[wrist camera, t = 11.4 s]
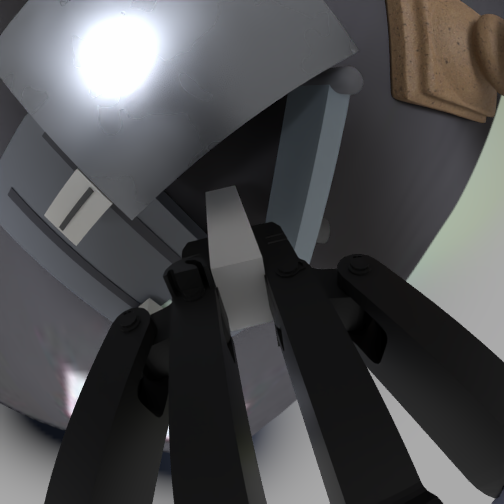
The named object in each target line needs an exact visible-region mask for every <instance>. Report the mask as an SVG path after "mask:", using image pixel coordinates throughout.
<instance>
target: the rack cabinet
mask: <svg viewBox="0 0 504 504" xmlns="http://www.w3.org/2000/svg"><path fill="white" fill-rule="evenodd" d="M357 52H359V50H358V49H357V47H356V45H355V44H354V42H353V41H352V39H351V38H350V36H349V35H348V33H347V32H346V30H345V29H344V27H343V26H342V25H341V23H340V22H339V20H338V19H337V18H336V16H335V15H334V14H333V12H332V11H331V10H330V8H329V7H328V6H327V5H326V3H325V2H324V1H323V0H29V1H28V2H27V3H26V4H25V5H24V6H23V7H22V9H21V10H20V11H19V12H18V13H17V15H16V16H15V17H14V18H13V19H12V21H11V22H10V23H9V25H8V26H7V27H6V28H5V30H4V31H3V33H2V34H1V35H0V78H1V79H2V81H3V82H4V83H5V84H6V86H7V87H8V88H9V90H10V91H11V92H12V93H13V95H14V96H15V97H16V98H17V99H18V101H19V102H20V103H21V104H22V105H23V107H24V108H25V109H26V110H27V111H28V113H29V114H30V115H31V116H32V117H33V118H34V120H35V121H36V122H37V123H38V124H39V125H40V126H41V128H42V129H43V130H44V131H45V132H46V133H47V134H48V135H49V137H50V138H51V139H52V140H53V141H54V142H55V143H56V144H57V145H58V146H59V148H60V149H61V150H62V151H63V152H64V153H65V154H66V155H67V156H68V157H69V158H70V159H71V160H72V161H73V162H74V164H75V165H76V166H77V167H78V168H79V169H80V170H81V171H82V172H83V173H84V174H85V175H86V176H87V177H88V178H89V179H90V180H91V181H92V182H93V183H94V184H95V185H96V186H97V187H98V188H99V189H100V190H101V191H102V192H103V193H104V194H105V195H106V196H107V197H108V198H109V199H110V200H111V201H112V202H113V203H114V204H115V205H116V206H117V207H118V208H119V209H120V210H121V211H122V212H124V213H125V214H126V215H127V216H128V217H129V218H130V219H131V220H133V219H134V218H135V217H136V216H137V215H138V214H139V213H140V212H141V211H142V210H143V209H144V208H145V207H146V206H147V205H148V204H149V203H150V202H152V201H153V200H154V199H155V198H156V197H157V196H158V195H159V194H160V193H161V192H162V191H163V190H164V189H166V188H167V187H168V186H169V185H170V184H171V183H172V182H173V181H174V180H176V179H177V178H178V177H179V176H180V175H181V174H182V173H183V172H185V171H186V170H187V169H188V168H189V167H190V166H192V165H193V164H194V163H195V162H196V161H198V160H199V159H200V158H201V157H202V156H204V155H205V154H206V153H207V152H208V151H210V150H211V149H212V148H213V147H215V146H216V145H217V144H218V143H220V142H221V141H222V140H224V139H225V138H226V137H227V136H229V135H230V134H231V133H233V132H234V131H235V130H237V129H238V128H239V127H241V126H242V125H243V124H245V123H246V122H247V121H249V120H250V119H251V118H253V117H254V116H256V115H257V114H258V113H260V112H261V111H263V110H264V109H266V108H267V107H268V106H270V105H271V104H273V103H274V102H276V101H277V100H279V99H280V98H282V97H283V96H285V95H286V94H288V93H289V92H291V91H292V90H294V89H295V88H297V87H299V86H300V85H302V84H303V83H305V82H307V81H308V80H310V79H311V78H313V77H315V76H316V75H318V74H320V73H321V72H323V71H325V70H327V69H328V68H330V67H332V66H334V65H335V64H337V63H339V62H341V61H342V60H344V59H346V58H348V57H350V56H352V55H354V54H356V53H357Z"/></svg>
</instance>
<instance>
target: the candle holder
mask: <svg viewBox="0 0 504 504" xmlns="http://www.w3.org/2000/svg"><path fill="white" fill-rule="evenodd" d="M385 3H386V11H387V21H388V32H389V48H390V78H391V94H392V97H393V98H395V99H396V100H400V101H404V102H407V103H411V104H416V105H420V106H424V107H428V108H432V109H436V110H439V111H443V112H446V113H450V114H453V115H456V116H459V117H462V118H466V119H470V120H473V121H477V122H480V123H485V122H486V117H487V116H488V117H494V116H495V112H496V101H497V92H498V93H499V94H501V95H503V96H504V19H502V18H500V17H498V16H496V15H492V14H485V15H482V16H480V15H479V14H478V13H476V12H475V11H474V10H472V9H471V8H470V7H468V6H467V5H465V4H464V3H463V2H461V1H460V0H385Z"/></svg>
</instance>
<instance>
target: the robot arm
mask: <svg viewBox="0 0 504 504" xmlns="http://www.w3.org/2000/svg"><path fill="white" fill-rule="evenodd" d="M205 195H206V213H207V228H208V238H204V239H200V240H195V241H191V242H188V243H187V244H186V245H185V247H184V248H183V250H182V259H181V260H179V261H176V262H175V263H173V264H171V265H170V266H169V267H168V268H167V269H166V270H165V272H164V274H163V279H164V281H165V283H166V285H167V288H168V290H169V292H170V294H171V296H172V303H171V304H170V305H168V306H167V307H165V308H163V309H161V310H159V311H157V312H155V313H153V314H151V315H150V314H149V312H148V311H147V310H146V309H144V308H139V307H136V308H131V309H128V310H126V311H124V312H123V313H121V314H120V315H119V316H118V317H117V318H116V319H115V321H114V322H113V324H112V326H111V328H110V330H109V332H108V334H107V336H106V338H105V340H104V342H103V344H102V346H101V348H100V350H99V352H98V354H97V356H96V359H95V361H94V363H93V365H92V367H91V370H90V372H89V374H88V376H87V379H86V381H85V383H84V386H83V388H82V390H81V393H80V395H79V398H78V400H77V402H76V405H75V408H74V410H73V413H72V415H71V418H70V421H69V423H68V426H67V429H66V431H65V435H64V437H63V440H62V443H61V446H60V449H59V452H58V456H57V458H56V462H55V465H54V468H53V472H52V476H51V479H50V483H49V486H48V490H47V494H46V499H45V503H44V504H152V502H153V497H154V491H155V486H156V481H157V476H158V471H159V467H160V462H161V457H162V452H163V448H164V443H165V439H166V434H167V430H168V426H169V441H170V459H171V474H172V486H173V496H174V504H267V503H266V498H265V494H264V490H263V486H262V481H261V477H260V473H259V468H258V464H257V460H256V455H255V450H254V446H253V441H252V436H251V431H250V426H249V421H248V416H247V411H246V406H245V401H244V396H243V391H242V385H241V380H240V375H239V369H238V364H237V358H236V353H235V347H234V342H233V339H232V337H231V334H230V330H231V331H235V330H239V329H244V328H248V327H252V326H256V325H260V324H264V323H268V322H272V321H273V320H274V323H275V329H276V335H277V341H278V346H280V347H281V350H282V353H283V356H284V359H285V362H286V366H287V369H288V372H289V375H290V378H291V381H292V385H293V388H294V391H295V394H296V397H297V400H298V403H299V406H300V410H301V413H302V416H303V419H304V422H305V426H306V429H307V432H308V435H309V438H310V441H311V444H312V448H313V450H314V454H315V457H316V460H317V463H318V466H319V470H320V472H321V476H322V479H323V482H324V485H325V488H326V491H327V495H328V498H329V501H330V504H443V503H442V502H441V500H440V499H439V498H438V497H437V496H435V495H434V494H432V493H430V492H429V491H427V490H426V489H425V487H424V486H423V485H422V483H421V481H420V478H419V476H418V474H417V471H416V469H415V467H414V465H413V462H412V460H411V458H410V456H409V454H408V451H407V449H406V447H405V445H404V442H403V440H402V438H401V436H400V434H399V432H398V429H397V428H396V426H395V424H394V421H393V419H392V417H391V415H390V413H389V411H388V409H387V407H386V405H385V403H384V401H383V399H382V397H381V395H380V393H379V391H378V389H377V387H376V385H375V383H374V381H373V379H372V377H371V375H370V373H369V371H368V369H369V370H370V371H371V372H372V373H373V374H374V375H375V376H376V378H377V379H378V380H379V381H380V382H381V383H382V384H383V385H384V386H385V387H386V388H387V390H388V391H389V392H390V393H391V394H392V395H393V396H394V397H395V399H396V400H397V401H398V402H399V403H400V404H401V405H402V406H403V407H404V409H405V410H406V411H407V412H408V413H409V414H410V415H411V416H412V417H413V418H414V420H415V421H416V422H417V423H418V424H419V425H420V426H421V428H422V429H423V430H424V431H425V432H426V433H427V434H428V435H429V436H430V438H431V439H432V440H433V441H434V442H435V443H436V444H437V445H438V447H439V448H440V449H441V450H442V451H443V452H444V453H445V454H446V456H447V457H448V458H449V459H450V460H451V461H452V462H453V463H454V465H455V466H456V467H457V468H458V469H459V470H460V471H461V472H462V473H463V475H464V476H465V477H466V478H467V479H468V480H469V481H470V482H471V483H472V484H473V485H474V486H475V487H476V488H477V489H479V490H480V491H481V492H483V493H484V494H486V495H488V496H491V497H493V498H495V500H494V501H493V502H492V504H504V362H503V361H502V360H501V359H499V357H497V356H496V355H495V354H494V353H493V352H492V351H491V350H490V349H488V348H487V347H486V346H485V345H484V344H483V343H482V342H481V341H479V340H478V339H477V338H476V337H475V336H474V335H473V334H471V333H470V332H469V331H468V330H467V329H466V328H464V327H463V326H462V325H461V324H459V323H458V322H457V321H456V320H455V319H453V318H452V317H451V316H450V315H449V314H447V313H446V312H445V311H444V310H442V309H441V308H440V307H439V306H437V305H436V304H435V303H434V302H432V301H431V300H430V299H428V298H427V297H426V296H424V295H423V294H422V293H421V292H419V291H418V290H417V289H415V288H414V287H412V286H411V285H410V284H409V283H407V282H406V281H405V280H403V279H402V278H401V277H399V276H398V275H397V274H395V273H394V272H392V271H391V270H390V269H388V268H387V267H386V266H384V265H383V264H381V263H380V262H379V261H377V260H376V259H374V258H372V257H370V256H367V255H362V254H353V255H349V256H346V257H344V258H343V259H341V260H340V262H339V263H338V265H337V269H315V268H311V266H310V265H309V264H308V263H307V262H306V261H305V260H302V259H300V258H298V256H297V254H296V252H295V251H294V249H293V247H292V245H291V244H290V242H289V240H288V239H287V237H286V235H285V234H284V232H283V230H282V228H281V226H279V225H277V224H276V223H274V222H268V223H263V224H259V225H255V226H250V223H249V221H248V218H247V215H246V213H245V210H244V208H243V205H242V202H241V200H240V197H239V194H238V192H237V189H236V187H235V185H234V186H230V187H225V188H221V189H217V190H212V191H208V192H205ZM367 368H368V369H367Z"/></svg>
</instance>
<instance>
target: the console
mask: <svg viewBox="0 0 504 504" xmlns="http://www.w3.org/2000/svg"><path fill="white" fill-rule="evenodd" d="M77 168H78V167H77V166H76V165H75V164H74V162H73V161H72V160H71V159H70V158H69V157H68V156H67V155H66V154H65V153H64V152H63V151H62V150H61V149H60V148H59V146H58V145H57V144H56V143H55V142H54V141H53V140H52V139H51V138H50V137H49V135H48V134H47V133H46V132H45V131H44V130H43V129H42V128H41V126H40V125H39V124H38V123H37V122H36V121H35V120H34V118H33V117H32V116H31V115H30V114H29V113H27V114H26V116H25V117H24V119H23V120H22V122H21V124H20V125H19V127H18V129H17V130H16V132H15V134H14V135H13V137H12V139H11V141H10V142H9V144H8V146H7V148H6V150H5V152H4V154H3V156H2V157H1V159H0V225H1V226H2V227H3V228H4V229H5V230H6V232H7V233H8V234H9V235H10V236H11V237H12V238H13V239H14V240H15V241H16V242H17V243H18V244H19V245H20V246H21V247H22V248H23V249H24V250H25V251H26V252H27V253H28V254H29V255H30V256H31V257H32V258H34V259H35V260H36V261H37V262H38V263H39V264H40V265H41V266H42V267H43V268H44V269H46V270H47V271H48V272H49V273H50V274H51V275H52V276H54V277H55V278H56V279H57V280H58V281H59V282H61V283H62V284H63V285H64V286H65V287H67V288H68V289H69V290H70V291H72V292H73V293H74V294H75V295H77V296H78V297H79V298H80V299H82V300H83V301H84V302H86V303H87V304H88V305H89V306H91V307H92V308H93V309H95V310H96V311H98V312H99V313H100V314H102V315H103V316H104V317H106V318H107V319H109V320H110V321H111V322H114V321H115V319H116V318H117V317H118V316H119V315H120V314H121V313H123V312H124V311H126V310H128V309H131V308H136V307H139V306H140V305H141V304H143V303H144V302H145V301H146V300H147V299H149V298H150V299H152V300H153V301H154V302H156V303H157V304H158V305H160V306H161V307H162V308H165V307H167V306H168V305H170V304H171V303H172V296H171V294H170V292H169V290H168V288H167V285H166V283H165V281H164V279H163V274H164V272H165V270H166V269H167V268H168V267H169V266H170V265H171V264H173V263H175V262H176V261H179V260H181V259H182V250H183V248H184V247H185V245H186V244H187V243H188V242H191V241H195V240H200V239H204V238H208V235H207V234H206V233H205V232H204V231H203V230H202V229H201V228H200V227H199V226H198V225H197V224H196V223H195V222H194V221H193V220H192V219H191V218H190V217H189V216H188V215H187V214H186V213H185V212H184V211H183V210H182V209H181V208H180V207H179V206H178V205H177V204H176V203H175V202H174V201H173V200H172V199H171V198H170V197H169V196H168V195H167V194H166V193H165V192H164V191H162V192H161V193H160V194H159V195H158V196H157V197H156V198H155V199H154V200H153V201H152V202H150V203H149V204H148V205H147V206H146V207H145V208H144V209H143V210H142V211H141V212H140V213H139V214H138V215H137V216H136V217H135V218H134V219H133V220H131V219H130V218H129V217H128V216H127V215H126V214H125V213H124V212H122V211H121V210H120V209H119V208H118V207H117V206H116V205H115V204H114V203H113V204H112V205H111V206H110V207H109V208H108V209H107V210H106V211H105V212H104V214H103V215H102V216H101V217H100V218H99V219H98V220H97V222H96V223H95V224H94V225H93V226H92V228H91V229H90V230H89V231H88V232H87V234H86V235H85V236H84V237H83V238H82V240H81V241H80V242H79V243H78V245H77V246H76V245H74V244H73V243H72V242H71V241H70V240H69V239H68V238H67V237H66V236H65V235H64V234H63V233H62V232H60V231H59V230H58V229H57V228H56V227H55V226H54V225H53V224H52V223H51V222H50V221H49V220H48V219H47V218H46V217H45V216H44V215H45V213H46V211H47V210H48V208H49V207H50V205H51V204H52V202H53V201H54V199H55V198H56V196H57V195H58V194H59V192H60V191H61V189H62V188H63V187H64V185H65V184H66V182H67V181H68V180H69V178H70V177H71V176H72V174H73V173H74V172H75V171H76V169H77ZM244 329H246V328H244ZM244 329H239V330H235V331H231V330H230V334H231V337H233V336H234V335H236V334H238V333H239V332H241V331H242V330H244Z"/></svg>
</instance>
